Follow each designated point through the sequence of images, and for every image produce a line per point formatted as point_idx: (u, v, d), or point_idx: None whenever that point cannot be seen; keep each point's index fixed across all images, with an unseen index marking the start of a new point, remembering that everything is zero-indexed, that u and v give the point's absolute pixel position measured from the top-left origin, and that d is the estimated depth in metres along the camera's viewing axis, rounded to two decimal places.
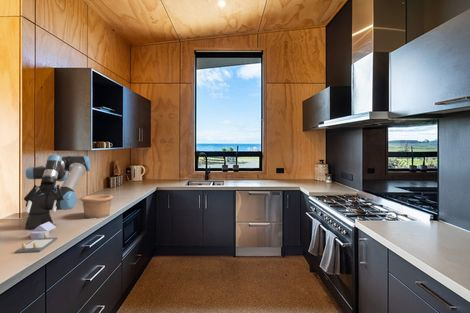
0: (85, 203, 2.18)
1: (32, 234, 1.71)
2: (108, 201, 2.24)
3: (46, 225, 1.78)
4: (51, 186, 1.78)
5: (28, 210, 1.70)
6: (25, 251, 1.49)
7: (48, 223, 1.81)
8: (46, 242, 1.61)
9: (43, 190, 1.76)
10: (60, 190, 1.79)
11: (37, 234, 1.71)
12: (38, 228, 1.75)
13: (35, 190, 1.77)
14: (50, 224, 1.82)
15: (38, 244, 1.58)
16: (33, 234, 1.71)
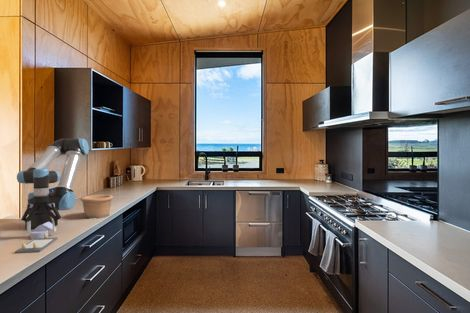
0: (85, 203, 2.18)
1: (32, 234, 1.71)
2: (108, 201, 2.24)
3: (46, 225, 1.78)
4: (45, 205, 1.76)
5: (29, 230, 1.75)
6: (25, 251, 1.49)
7: (48, 223, 1.81)
8: (46, 242, 1.61)
9: (38, 210, 1.75)
10: (55, 208, 1.78)
11: (37, 234, 1.71)
12: (38, 228, 1.75)
13: (30, 208, 1.76)
14: (50, 224, 1.82)
15: (38, 244, 1.58)
16: (33, 234, 1.71)
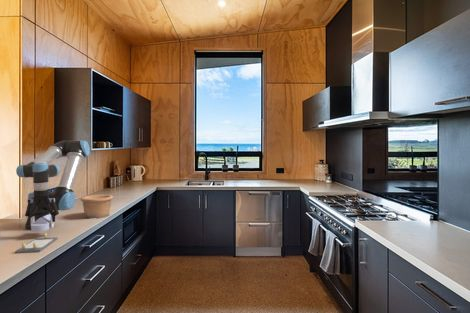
0: (85, 203, 2.18)
1: (33, 227, 1.71)
2: (108, 201, 2.24)
3: (46, 217, 1.79)
4: (45, 199, 1.76)
5: None
6: (25, 251, 1.49)
7: (48, 216, 1.82)
8: (46, 242, 1.61)
9: (38, 204, 1.75)
10: (55, 203, 1.78)
11: (38, 226, 1.71)
12: (38, 221, 1.75)
13: (31, 203, 1.76)
14: None
15: (38, 244, 1.58)
16: (34, 227, 1.71)
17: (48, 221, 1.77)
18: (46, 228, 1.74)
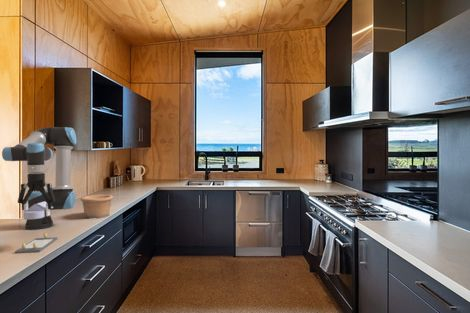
0: (85, 203, 2.18)
1: (26, 214, 1.53)
2: (108, 201, 2.24)
3: (41, 204, 1.60)
4: (41, 184, 1.58)
5: None
6: (25, 251, 1.49)
7: (44, 203, 1.63)
8: (46, 242, 1.61)
9: (33, 189, 1.57)
10: (51, 189, 1.60)
11: (31, 214, 1.53)
12: (32, 207, 1.57)
13: (25, 188, 1.58)
14: None
15: (38, 244, 1.58)
16: (27, 214, 1.52)
17: (43, 208, 1.59)
18: (41, 216, 1.55)
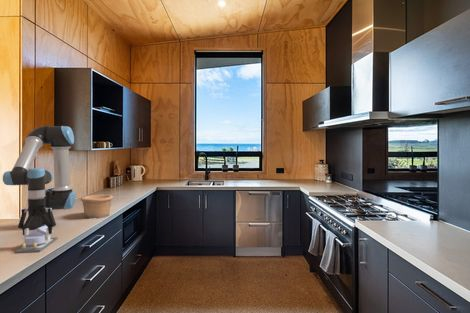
0: (85, 203, 2.18)
1: (26, 239, 1.53)
2: (108, 201, 2.24)
3: (42, 229, 1.61)
4: (41, 209, 1.58)
5: None
6: (25, 251, 1.49)
7: (44, 227, 1.63)
8: (46, 242, 1.61)
9: (33, 214, 1.57)
10: (52, 213, 1.60)
11: (32, 239, 1.53)
12: (33, 233, 1.57)
13: (25, 213, 1.58)
14: None
15: (38, 244, 1.58)
16: (27, 239, 1.53)
17: (44, 233, 1.59)
18: (41, 241, 1.56)
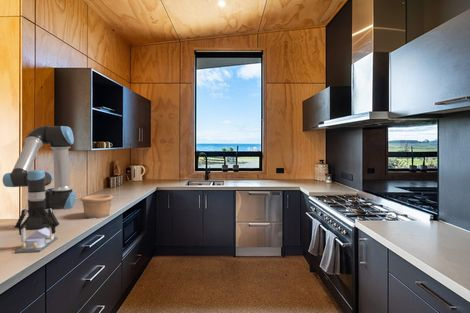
0: (85, 203, 2.18)
1: (27, 242, 1.53)
2: (108, 201, 2.24)
3: (42, 231, 1.61)
4: (41, 211, 1.58)
5: (24, 239, 1.58)
6: (25, 251, 1.49)
7: (44, 229, 1.64)
8: (46, 242, 1.61)
9: (34, 216, 1.58)
10: (53, 214, 1.61)
11: (32, 242, 1.53)
12: (33, 235, 1.57)
13: (24, 214, 1.58)
14: (47, 230, 1.64)
15: None
16: (28, 242, 1.53)
17: (44, 235, 1.59)
18: (42, 243, 1.56)
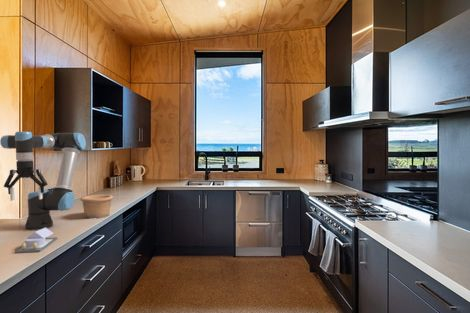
0: (85, 203, 2.18)
1: (27, 242, 1.53)
2: (108, 201, 2.24)
3: (42, 231, 1.61)
4: (30, 171, 1.64)
5: (13, 198, 1.64)
6: (25, 251, 1.49)
7: (44, 229, 1.64)
8: (46, 242, 1.61)
9: (22, 176, 1.63)
10: (41, 174, 1.67)
11: (32, 242, 1.53)
12: (33, 235, 1.57)
13: (13, 174, 1.64)
14: (47, 230, 1.64)
15: None
16: (28, 242, 1.53)
17: (44, 235, 1.59)
18: (42, 243, 1.56)
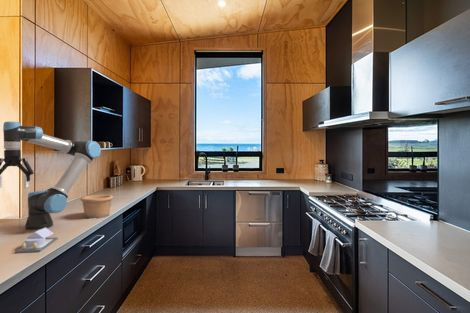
0: (85, 203, 2.18)
1: (27, 242, 1.53)
2: (108, 201, 2.24)
3: (42, 231, 1.61)
4: (16, 160, 1.70)
5: (0, 185, 1.70)
6: (25, 251, 1.49)
7: (44, 229, 1.64)
8: (46, 242, 1.61)
9: (9, 164, 1.69)
10: (27, 163, 1.72)
11: (32, 242, 1.53)
12: (33, 235, 1.57)
13: (1, 163, 1.70)
14: (47, 230, 1.64)
15: None
16: (28, 242, 1.53)
17: (44, 235, 1.59)
18: (42, 243, 1.56)
